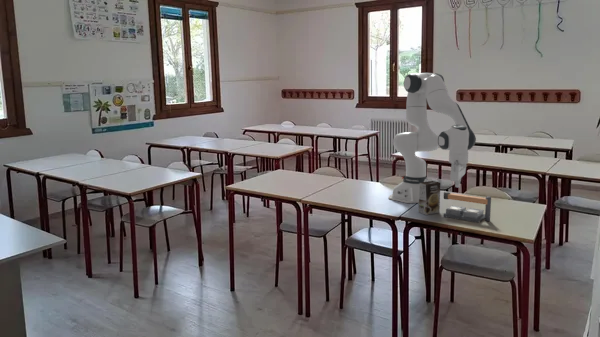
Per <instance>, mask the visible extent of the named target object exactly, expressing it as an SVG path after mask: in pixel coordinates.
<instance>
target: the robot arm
mask: <svg viewBox="0 0 600 337" xmlns="http://www.w3.org/2000/svg"><path fill="white" fill-rule="evenodd" d="M403 87H404V90H405V91H406V92H407V97H406V104H405V105H406V108H405V110H406V117H405V118H406V119H405V120H406V122H407V123H408V124H409V125H411V126H413V127H415V128H416V129H417V131H404V132H400V133H396V134H395V135H394V137H393V140H392V144H393V147H394V149H395V150H396V151H397V152H398V153H399V154H400V155H401V156H402V157H403V159H404V162H405V175H403V176H402V177H401V180H402V182H400V183H399V184H397V185H395V186H394V187H393V190H392V194H390V195H388V200H393V201H396V202H402V203H405V204H416V203H417V204H419V186H420V183H421V182H428V180H427V179H428V177H427V163H426V161H425V160H424V159H422V158H421V157H419V156H417V155H416V152H432V151H437V150H438V149H439V148H441V150H445V151H449V152H448V163H450V164H451V167H450V174H449V175H450V176H449V178H450V182H454V184H455V185H454V186H455V188H460V187H461V180H462V178H463V177H464V176H465V174H466V172H467V164H468V163H469V150H471V149H472V148H473V147H474V146H475V145H476V142H477V138H476V137H477V136H476V134H475V133H474V131H473V129H471V127H470V125H469V123H468V121H467V119H466V117H465V115H464V113H463V111H462V109H461V107H460V105H459V104H458V103H457V102H455V101H454V100H453V98H452V97H451V96H450V94H449V92H448V89H447V86H446V83H445V78H444V76H443V75H442V74H440V73H436V72H434V73H433V72H418V73H417V72H416V73H415V72H413V73H412V72H411V73H408V74H406V76H405V78H404V81H403ZM427 106H428V107H429V108H430V109H431V110H432V111H434V112H436V113H438V114H439V113H440V114H443V115H446V116H448V117H450V118H451V119H452V120H453V121H454V122H453V123H455V124H454V125H452V126H450V128H449V129H446V130H444V131H441V132H440V133H439V134H438V133H437V132H436V131H434V130H433V129H432V128H431V126H430V124H429V122H428V113H427V110H428V109H427Z"/></svg>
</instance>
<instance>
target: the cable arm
mask: <svg viewBox="0 0 600 337" xmlns="http://www.w3.org/2000/svg"><path fill="white" fill-rule="evenodd" d="M443 199H444V200H451V201H452V200H453V201H459V202H468V203H474V204H480V205H485V208H484V209H485V210H484V211H485V212H484V214H485V218H484V221H487V222H490V221H491V211H492V208H491V207H492V197H491V196H486V197H481V196H474V195H466V194H460V193H459V194H458V193H452V192H448V191H444V192H443Z"/></svg>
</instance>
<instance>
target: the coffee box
mask: <svg viewBox="0 0 600 337" xmlns="http://www.w3.org/2000/svg"><path fill="white" fill-rule="evenodd" d="M440 210H441V182H440V181H435V180H427V182H421V183H420V186H419V203H418V213H420V214H422V215H425V216H428V215H433V214H439V213H440Z"/></svg>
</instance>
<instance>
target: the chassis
mask: <svg viewBox="0 0 600 337" xmlns="http://www.w3.org/2000/svg"><path fill="white" fill-rule="evenodd" d="M466 208H467V207H466V206H459V205H453V204H452V205H451V206H448V207H447V208H446V209H445V212H444V213H443V215H442V216H444V218H449V217H450V219H455V218H456V220H461V219H462V221H467V222H473V223H480V222H481V221H483V220H485V212H484V211H485V210H484V209H478V208H472V207H469V208H467V209H466Z"/></svg>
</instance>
